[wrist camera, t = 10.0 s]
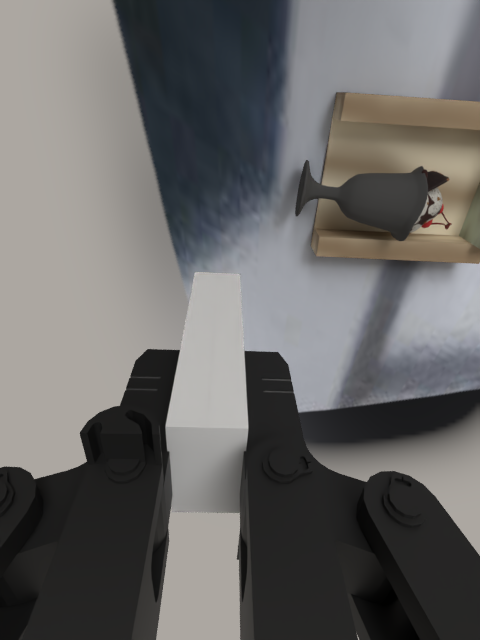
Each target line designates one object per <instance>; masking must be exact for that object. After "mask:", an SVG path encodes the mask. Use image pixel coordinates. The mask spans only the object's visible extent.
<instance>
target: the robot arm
mask: <svg viewBox="0 0 480 640" xmlns="http://www.w3.org/2000/svg"><path fill="white" fill-rule="evenodd" d="M293 391H294V390H293V386H292V382H291V376H290V371H289V367H288V364H287V363H286V361H285V360H284V359H283V358H282V357H281V355H280V354H279V353H278V352H257V351H244V337H243V318H242V300H241V281H240V274H229V273H206V272H195V275H194V280H193V286H192V291H191V296H190V301H189V306H188V312H187V317H186V322H185V327H184V333H183V338H182V343H181V348H180V350H157V349H155V350H154V349H148V350H146V351H145V352H144V353H143V354H142V355H141V356H140V357H139V358H138V359H137V360H136V361H135V364H134V367H133V370H132V373H131V378H129V382H128V384H127V387H126V391H125V393H124V396H123V399H122V401H121V404H120V406H116V407H112V408H110V409H107V410H104V411H102V412H100V413H98V414H97V415H96V416H94V417H93V418H92V419H90V420H89V421H88V422H87V423H86V425H85V426H84V428H83V429H82V430H81V432H80V436H81V440H82V443H83V447H84V451H85V455H86V459H87V462H86V463H84V464H82V465H80V466H79V467H76V468H73V469H70V470H68V471H64V472H60V473H57V474H53V475H49V476H46V477H41V478H38V479H34V478H33V477H32V475H31V473H29V472H28V471H26V470H24V469H22V468H20V467H2V468H0V640H156V634H157V628H158V620H159V613H160V605H161V598H162V590H163V583H164V575H165V567H166V559H167V552H168V545H169V532H168V523H169V517H170V509H171V507H172V512H217V513H240V535H239V545H238V555H237V559H238V560H239V577H240V578H239V579H240V637H241V638H240V639H241V640H358V638H357V635H358V637H359V640H480V556H479V554H478V553H477V552H476V550H475V549H474V548H473V546H472V545H471V544H470V542H469V541H468V540H467V538H466V537H465V536H464V534H463V533H462V532H461V531H460V529H459V528H458V526H457V525H456V524H455V523H454V521H453V520H452V518H451V517H450V516H449V514H448V513H447V512H446V510H445V509H444V508H443V506H442V505H441V504H440V503H439V501H438V500H437V498H436V497H435V496H434V495H433V494H432V493H431V492H430V491H429V490H428V489H427V488H426V487H425V486H424V485H423V484H422V483H420V482H418V481H417V480H415V479H413V478H412V477H410V476H408V475H405V474H401V473H398V472H395V471H387V472H379V473H377V474H375V475H373V476H371V477H370V478H369V480H368V481H367V482H364V481H361V480H358V479H354V478H351V477H348V476H345V475H342V474H339V473H337V472H334V471H332V470H330V469H328V468H326V467H325V466H323V465H322V464H320V463H319V462H318V461H317V460H316V459H315V458H314V457H313V456H312V455H311V453H310V452H309V450H308V449H307V447H306V444H305V441H304V438H303V433H302V428H301V424H300V419H299V414H298V409H297V405H296V400H295V395H294V393H293ZM356 632H357V634H356Z"/></svg>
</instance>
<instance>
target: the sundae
mask: <svg viewBox="0 0 480 640" xmlns="http://www.w3.org/2000/svg"><path fill="white" fill-rule="evenodd" d="M448 181H449V177H447V176H444V175H443V174H441V173H439V172H437V171H429V172H428V171H427V170H426V169H424V168H423V166H420V167H418V168H416V169H415V170H413V171H412V172H411V173H365V174H357V175H355V176H353V177H352V178H350V179H348V180H347V181H346V182H345V183H344V184H343V185H341V186H340V187H330V186H325V185H321V184H319V183H317V182H316V181H315V180H314V179H313V178H312V176H311V173H310V167H309V161H308V160H306V162H305V164H304V167H303V171H302V175H301V179H300V184H299V190H298V195H297V202H296V211H295V214H296V216H298V215H299V214H300V212H301V210H302V208H303V206H304V205H305V204H306V203H307V202H308V201H310V200H313V199H319V198H320V199H329V200H334V201H336V203H337V204H338V205H339V207H340V210H341V211H342V212H343V214H344V215H345V216H346V217H347V218H349V219H352V220H354V221H357V222H359V223H363V224H366V225H370V226H373V227H377V228H380V229H383V230H386V231H389V232H391V235H392V236H393V237H394V238H395V239H396V240H398V241H404V240H405V239H406V238H407V237H408V235H409V234H410V233H412V232H414V231H416V230H417V229H419V228H420V227H422V228H427V227H429V226H430V225H435V224H439V225H444V226H445V229H446V230H447V229H448V228H449V226H450V225H451V223H449V222H448V221H447V219H446V217H445V215H444V213H443V212H442V211H443V209H444V205H443V204H442V203H443V199H442V195H441V193H440V191H439V189H438V188H437V187H439V186H441V185H442V184H444V183H446V182H448ZM440 213H441V214H442V215H443V217H444V219H445V220H446V221H447V223H448V224H447V225H445V224H443V223H432V221H433V218H435V217H436V216H437V215H439V214H440Z"/></svg>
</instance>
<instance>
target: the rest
mask: <svg viewBox="0 0 480 640" xmlns="http://www.w3.org/2000/svg"><path fill="white" fill-rule="evenodd" d="M420 166H423V168H424V169H426V170H427V171H428V172H429V171H437V172H439V173H441V174H443V175H444V176H447V177H449V181H448V182H446V183H444V184H442V185H441V186H439V187H437V188H438V189H439V191H440V193H441V195H442V199H443V203H442V204H443V205H444V209H443V211H442V212H443V213H444V215H445V217H446V219H447V221H448V222H449V223H451V225H450V226H449V228H448V229H447V230H446V229H445V226H444V225H439V224H435V225H430V226H429V227H427V228H422V227H420V228H419V229H417V230H416V231H414V232H412V233H410V234H409V235H408V237H407V238H406V239H405V240H404V241H398V240H396V239H395V238H394V237H393V236H392V235H391V232H389V231H386V230H383V229H380V228H377V227H373V226H370V225H366V224H363V223H359V222H357V221H354V220H352V219H349V218H347V217H346V216H345V215H344V214H343V212H342V211H341V210H340V207H339V205H338V204H337V203H336V201H334V200H329V199H320V198H319V199H318V205H317V211H316V217H315V223H314V229H313V235H312V241H311V247H312V249H313V251H314V253H315V255H316V256H324V257H346V258H367V259H389V260H411V261H432V262H454V263H476V264H479V262H480V102H474V101H460V100H446V99H431V98H417V97H402V96H388V95H374V94H359V93H341V92H337V93H336V99H335V105H334V111H333V117H332V122H331V128H330V134H329V140H328V146H327V152H326V158H325V164H324V170H323V176H322V182H321V185H325V186H330V187H340V186H341V185H343V184H344V183H345V182H346V181H347V180H348V179H350V178H352V177H353V176H355V175H357V174H365V173H411V172H412V171H413V170H415V169H416V168H418V167H420ZM447 221H446V220H445V219H444V217H443V215H442V214H441V213H440V214H439V215H437V216H436V217H435V218H433V221H432V223H443V224H445V225H447V224H448V223H447Z"/></svg>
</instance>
